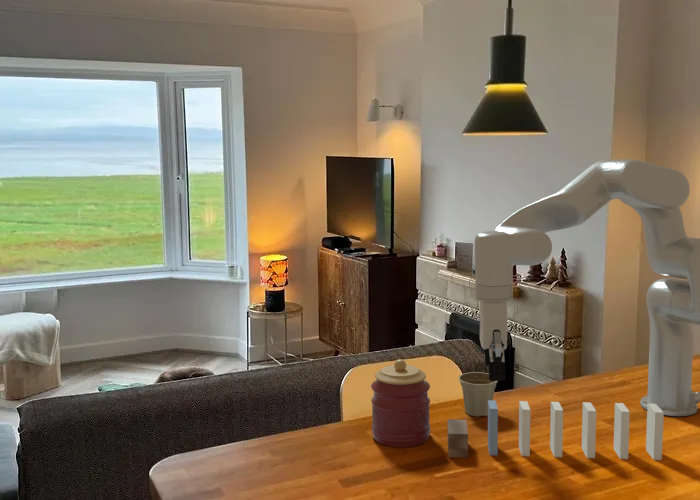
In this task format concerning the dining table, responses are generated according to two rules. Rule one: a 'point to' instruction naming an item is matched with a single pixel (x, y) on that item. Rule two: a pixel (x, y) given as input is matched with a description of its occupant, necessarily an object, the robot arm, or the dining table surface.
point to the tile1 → (654, 431)
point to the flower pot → (477, 392)
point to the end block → (457, 438)
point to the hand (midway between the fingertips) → (494, 372)
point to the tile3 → (588, 429)
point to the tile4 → (556, 429)
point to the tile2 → (621, 430)
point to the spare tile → (492, 427)
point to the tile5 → (524, 428)
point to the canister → (400, 406)
